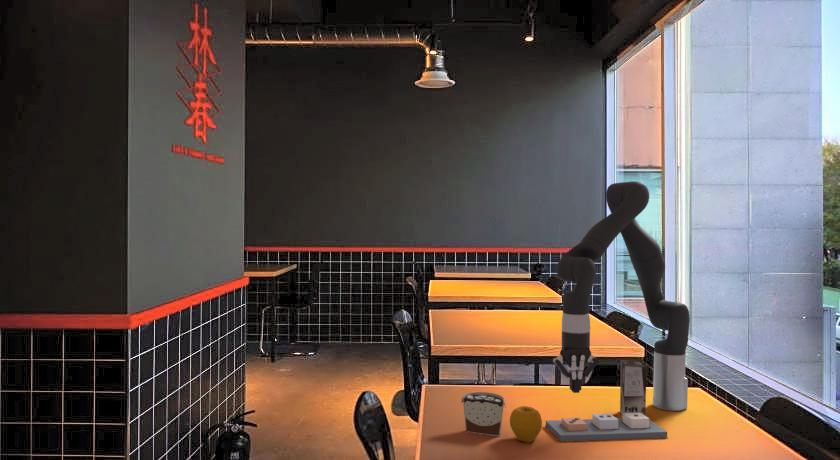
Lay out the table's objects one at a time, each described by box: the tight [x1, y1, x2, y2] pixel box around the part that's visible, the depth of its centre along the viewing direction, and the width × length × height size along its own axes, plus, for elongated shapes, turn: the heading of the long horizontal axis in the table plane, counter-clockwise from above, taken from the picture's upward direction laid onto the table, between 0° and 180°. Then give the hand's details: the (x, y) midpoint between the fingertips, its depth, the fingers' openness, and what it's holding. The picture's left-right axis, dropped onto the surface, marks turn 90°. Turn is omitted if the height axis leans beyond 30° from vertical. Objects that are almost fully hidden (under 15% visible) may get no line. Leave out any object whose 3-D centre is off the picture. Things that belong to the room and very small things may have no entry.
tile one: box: [622, 413, 650, 429], centre depth 173 cm, size 5×5×3 cm
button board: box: [545, 417, 668, 442], centre depth 172 cm, size 30×12×2 cm, turn 98°
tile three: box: [561, 417, 587, 431], centre depth 171 cm, size 5×5×3 cm
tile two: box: [591, 413, 618, 430], centre depth 172 cm, size 5×5×3 cm
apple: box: [509, 405, 543, 443], centre depth 165 cm, size 9×8×9 cm
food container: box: [460, 391, 507, 438], centre depth 172 cm, size 12×6×10 cm, turn 71°
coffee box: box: [619, 359, 648, 418], centre depth 186 cm, size 9×6×16 cm
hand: (575, 391), depth 171 cm, fingers closed
